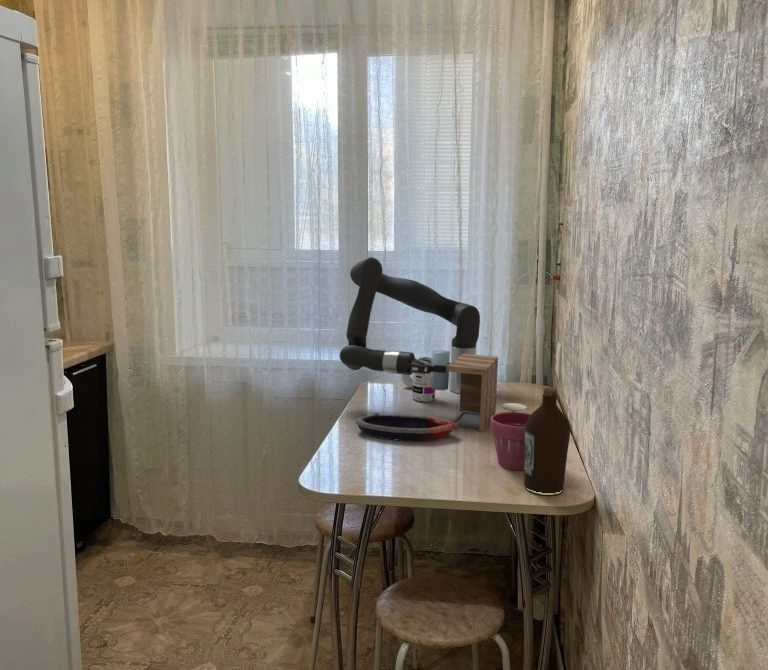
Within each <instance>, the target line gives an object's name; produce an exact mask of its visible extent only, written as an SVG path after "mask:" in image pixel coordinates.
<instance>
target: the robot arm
mask: <svg viewBox="0 0 768 670" xmlns="http://www.w3.org/2000/svg"><path fill="white" fill-rule="evenodd" d="M382 266H383V265H382V263H381V261H380V260H378V259H377V258H375V257H372V256H368V257H365V258H363V259H361V260H360V261H358V262H357V263H356V264H354V266H352V268H351V269H350V272H349V276H350V279H351V280H352V282H353V283H354V284H355V285H356V286H358V287H359V288H358V291H357V295H356V299H355V301H354V303H353V306H352V308H351V311H350V315H349V318H348V323H347V328H346V338H347V339H346V340H347V342H348V343H347V344H348V345H346V346H344V347H343V348H342V349H340V352H339V359H340V361H341V363H342V364H343V365H344V366H346V368H348V369H350V370H352V371H358V370H360V369H361V368H367V369H369V370H372V371H376V372H385V373H390V374H396V375H397V374H398V375H401V374H404V375H410V376H412V375H413V373H428V374H429V373H430V372H431V373H433V372H439V373H445V372H446V366H441V365H435V366H434V365H433V364H432V357H431V358H426V357H427V356H422V357H423V358H419V359H415V358H416V356H415V354H414V352H411V351H399V350H384V349H383V350H381V349H372V348H369V347H367V337H368V336H367V335H368V332H369V331H368V330H369V324H370V320H371V313H372V309H373V305H374V300H375V298H376V293H379V294H382V295H385V296H386V297H389V298H391V299H393V300H395V301H397V302H400V303H402V304H404V305H406V306H408V307H411V308H414V309H415V310H419V311H421V312H424V313H428V314H432V315H435V316H437V317H440V318H442V319H444V320H446V322H449V323H451V324H452V325H454V326H455V327H456V329H455V330H456V332H455V336H454V337H452V339H451V351H450V362H449V364H451V363H452V362H453V361H454V360H456V359H457V358H458V357H459V356H460V355H462V354H472V355H477V343H478V340H479V337H480V329H481V328H480V326H481V314H480V312H479V310H478V308H477V307H476V306H474V305H472V304H468V303H464V302H459V301H456V300H453V299H450V298H447V297H445V296H443V295H441V294H440V293H439V292H437V291H436V290H434V289H433V288H431V287H429V286H427V285H426V284H423V283H421V282H419V281H417V280H413V279H407V278H402V277H396V276H395V277H394V276H391V275H390V276H389V275H387V274H384V273H383V267H382ZM460 387H461V373H457V372H449V391H450V392H452V393H457V394H460Z"/></svg>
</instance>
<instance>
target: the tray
mask: <svg viewBox="0 0 768 670" xmlns="http://www.w3.org/2000/svg"><path fill="white" fill-rule="evenodd" d="M451 422H454V423H457V424H458V427H459V428H467V429H474V430H479V424H480V413H476V412H468V411H459V413H458V415H457V416H456V417H455V418H454V419H453V420H452V421H451Z"/></svg>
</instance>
